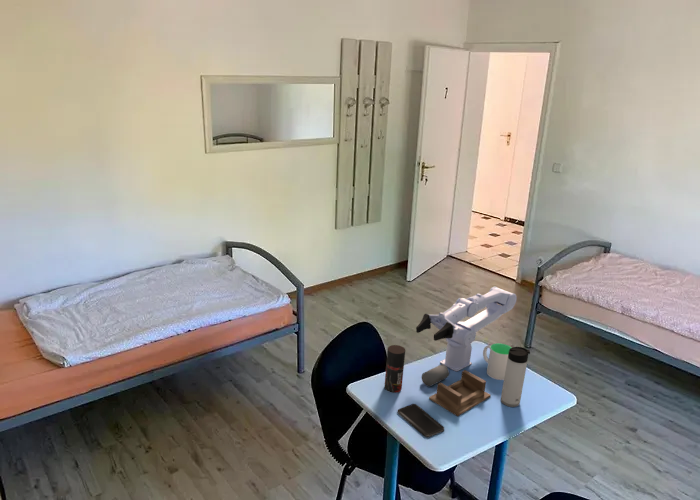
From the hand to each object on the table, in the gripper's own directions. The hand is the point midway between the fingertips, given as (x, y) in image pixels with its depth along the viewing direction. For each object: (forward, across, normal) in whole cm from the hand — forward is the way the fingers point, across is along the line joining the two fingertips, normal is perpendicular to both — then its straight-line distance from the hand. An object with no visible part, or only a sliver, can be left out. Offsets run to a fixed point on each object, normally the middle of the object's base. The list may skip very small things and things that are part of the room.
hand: (425, 333), depth 188 cm
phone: (+20, +14, +17) cm, 30 cm away
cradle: (0, +14, +20) cm, 24 cm away
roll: (-2, +2, +20) cm, 20 cm away
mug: (-24, +12, +24) cm, 36 cm away
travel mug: (-12, +26, +22) cm, 36 cm away
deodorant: (+13, -4, +18) cm, 22 cm away
